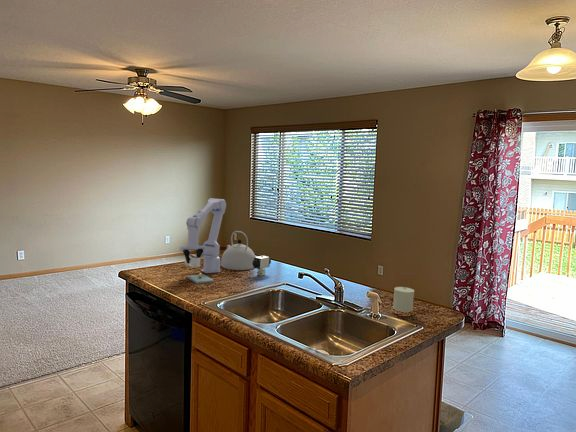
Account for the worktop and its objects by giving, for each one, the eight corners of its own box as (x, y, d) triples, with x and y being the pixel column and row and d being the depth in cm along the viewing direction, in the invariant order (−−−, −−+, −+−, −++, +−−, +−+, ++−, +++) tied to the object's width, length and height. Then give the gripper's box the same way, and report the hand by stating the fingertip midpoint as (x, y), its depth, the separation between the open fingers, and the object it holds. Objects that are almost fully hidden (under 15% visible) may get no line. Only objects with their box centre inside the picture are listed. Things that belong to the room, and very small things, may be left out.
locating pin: (201, 277, 241) (201, 273, 241) (202, 278, 240) (202, 273, 240) (198, 277, 240) (198, 273, 240) (199, 278, 239) (199, 273, 239)
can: (411, 311, 206) (414, 287, 205) (412, 317, 197) (415, 292, 196) (392, 309, 208) (394, 284, 207) (392, 315, 199) (394, 289, 198)
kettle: (212, 263, 281) (213, 229, 279) (240, 259, 296) (241, 227, 294) (234, 271, 263) (235, 235, 260) (263, 267, 278) (265, 232, 276)
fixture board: (203, 275, 249) (203, 274, 249) (213, 281, 237) (213, 280, 237) (187, 277, 243) (187, 275, 243) (196, 283, 232) (196, 281, 231)
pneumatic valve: (270, 274, 261) (271, 254, 260) (257, 277, 252) (258, 257, 251) (263, 272, 264) (264, 253, 263) (250, 275, 255) (251, 255, 254)
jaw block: (193, 263, 247) (193, 254, 247) (200, 266, 239) (200, 257, 238) (184, 263, 244) (185, 254, 244) (191, 267, 236) (191, 258, 235)
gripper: (183, 240, 232) (182, 265, 234) (208, 239, 240) (207, 263, 242) (178, 238, 238) (178, 262, 240) (203, 237, 246) (202, 260, 248)
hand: (192, 262), depth 241 cm, fingers closed on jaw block, 5 cm apart
